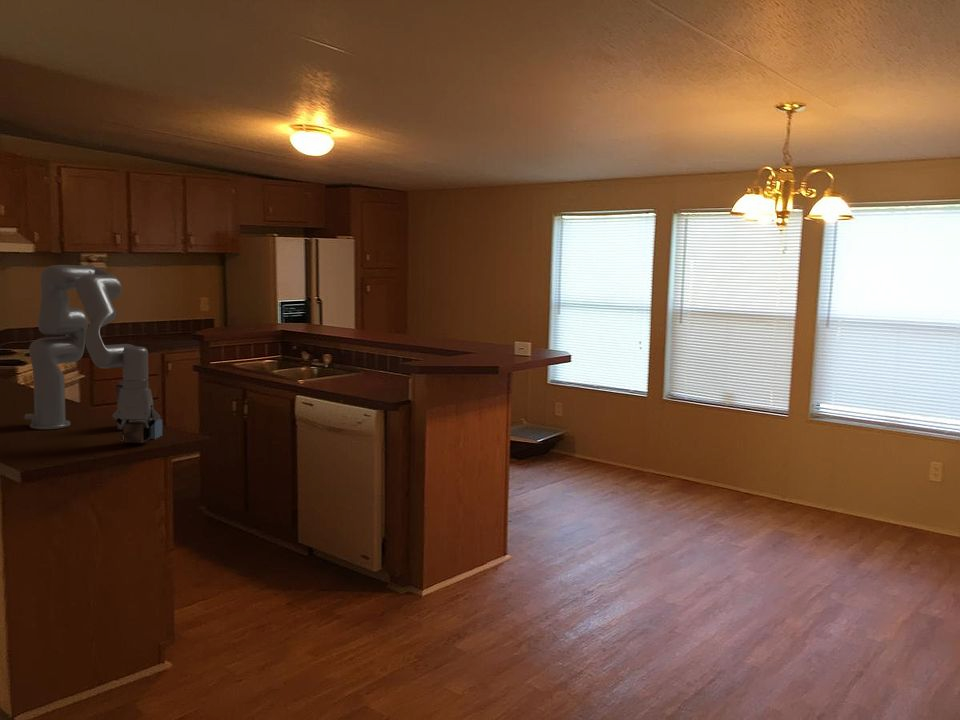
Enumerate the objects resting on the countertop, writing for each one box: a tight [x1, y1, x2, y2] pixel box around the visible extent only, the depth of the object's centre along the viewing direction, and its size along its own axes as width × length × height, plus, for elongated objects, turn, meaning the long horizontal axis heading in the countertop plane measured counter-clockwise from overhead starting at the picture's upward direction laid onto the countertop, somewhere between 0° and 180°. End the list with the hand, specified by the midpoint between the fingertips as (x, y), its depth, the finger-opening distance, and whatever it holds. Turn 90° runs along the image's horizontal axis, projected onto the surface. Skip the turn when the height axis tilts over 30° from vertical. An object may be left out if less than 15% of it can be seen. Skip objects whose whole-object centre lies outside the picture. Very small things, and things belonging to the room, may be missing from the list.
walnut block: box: [122, 420, 150, 444], centre depth 251 cm, size 6×6×6 cm
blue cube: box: [140, 418, 163, 440], centre depth 261 cm, size 6×6×6 cm
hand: (136, 438), depth 251 cm, fingers closed on walnut block, 6 cm apart
